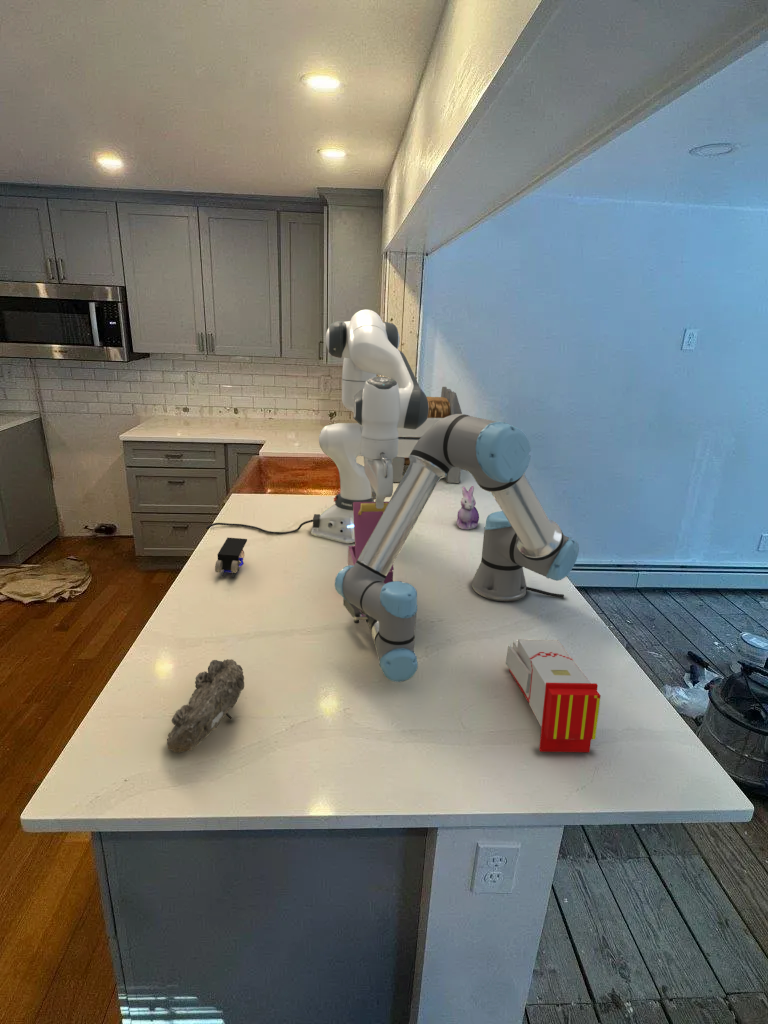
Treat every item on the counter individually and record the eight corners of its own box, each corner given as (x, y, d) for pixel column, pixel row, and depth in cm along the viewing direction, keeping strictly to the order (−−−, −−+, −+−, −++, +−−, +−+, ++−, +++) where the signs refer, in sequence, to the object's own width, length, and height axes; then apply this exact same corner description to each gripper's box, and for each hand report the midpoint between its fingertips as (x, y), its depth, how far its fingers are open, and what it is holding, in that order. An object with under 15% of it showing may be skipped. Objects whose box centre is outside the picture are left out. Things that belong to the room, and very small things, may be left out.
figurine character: (238, 584, 162) (249, 557, 175) (236, 562, 158) (247, 536, 172) (215, 584, 161) (227, 556, 175) (212, 561, 158) (225, 535, 171)
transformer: (382, 463, 289) (386, 382, 275) (445, 464, 293) (451, 384, 279) (390, 482, 257) (394, 392, 243) (460, 483, 261) (468, 394, 247)
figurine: (464, 532, 204) (468, 492, 199) (449, 522, 212) (452, 484, 207) (486, 528, 208) (490, 489, 203) (469, 519, 216) (473, 481, 211)
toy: (554, 622, 128) (610, 691, 98) (548, 677, 130) (601, 759, 101) (501, 621, 127) (541, 690, 98) (496, 676, 130) (534, 758, 101)
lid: (352, 503, 148) (356, 494, 140) (388, 502, 150) (394, 493, 142) (356, 571, 144) (360, 566, 136) (392, 570, 146) (399, 564, 137)
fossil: (192, 660, 117) (244, 628, 112) (224, 691, 120) (276, 661, 115) (142, 746, 98) (202, 712, 93) (182, 779, 101) (242, 748, 96)
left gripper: (401, 459, 125) (397, 517, 130) (384, 438, 144) (382, 490, 149) (373, 459, 124) (370, 518, 129) (360, 438, 143) (358, 490, 148)
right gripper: (338, 646, 128) (329, 599, 149) (433, 641, 132) (411, 595, 153) (339, 617, 126) (330, 573, 146) (435, 612, 130) (413, 570, 150)
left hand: (377, 503), depth 139 cm, fingers open, 5 cm apart
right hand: (371, 584), depth 150 cm, fingers closed on chest, 9 cm apart
